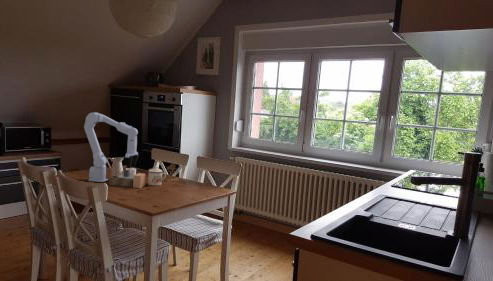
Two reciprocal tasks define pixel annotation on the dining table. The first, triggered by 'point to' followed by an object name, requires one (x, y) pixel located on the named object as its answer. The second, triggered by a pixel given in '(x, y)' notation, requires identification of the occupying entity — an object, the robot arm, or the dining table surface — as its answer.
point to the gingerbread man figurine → (172, 175)
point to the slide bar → (126, 175)
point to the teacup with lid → (155, 176)
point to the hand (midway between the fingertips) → (130, 167)
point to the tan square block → (139, 180)
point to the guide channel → (120, 181)
